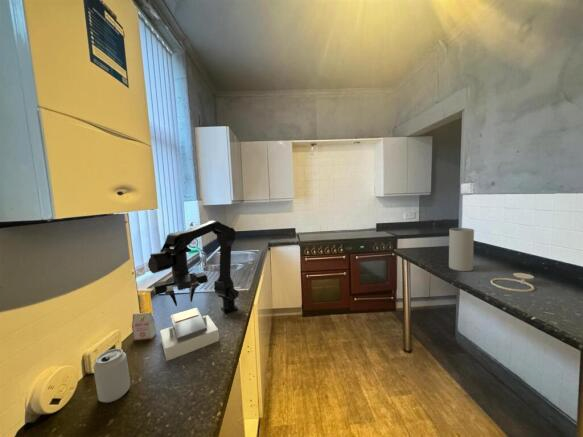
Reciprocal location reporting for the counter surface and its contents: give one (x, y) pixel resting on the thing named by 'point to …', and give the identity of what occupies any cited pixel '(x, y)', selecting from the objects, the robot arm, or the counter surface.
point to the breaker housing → (188, 340)
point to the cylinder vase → (461, 249)
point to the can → (111, 375)
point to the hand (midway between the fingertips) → (183, 303)
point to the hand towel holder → (519, 275)
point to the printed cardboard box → (143, 326)
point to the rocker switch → (188, 324)
